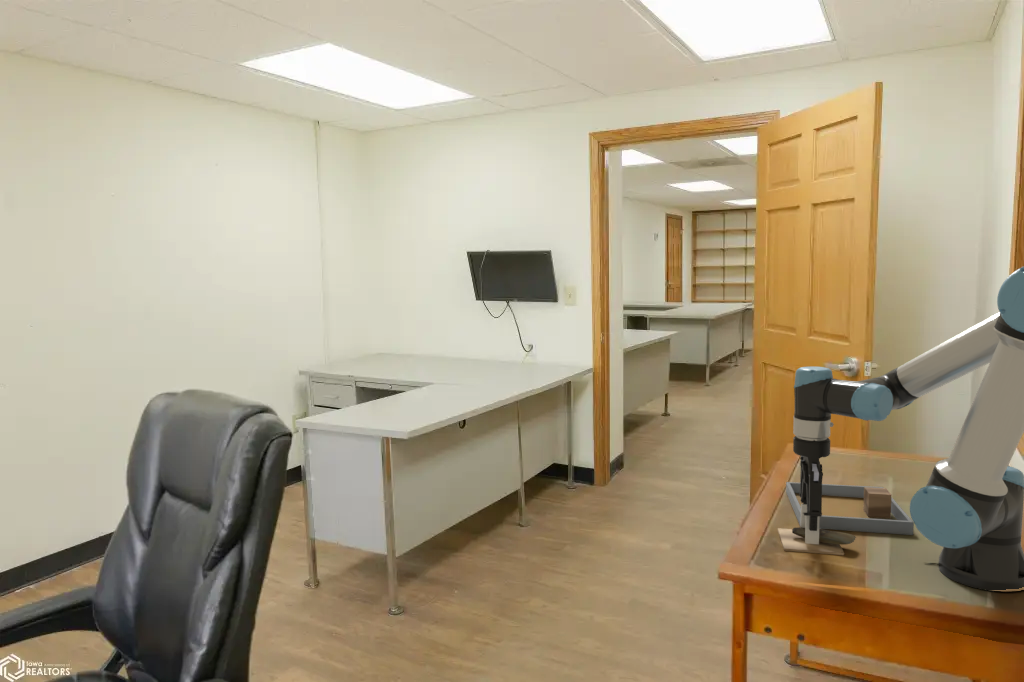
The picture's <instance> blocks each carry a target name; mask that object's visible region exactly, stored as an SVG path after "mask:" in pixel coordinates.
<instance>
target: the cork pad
mask: <svg viewBox="0 0 1024 682" xmlns="http://www.w3.org/2000/svg"><path fill="white" fill-rule="evenodd" d="M792 529H793V528H779V527H778V528H777V533H778V536H779V538H780V541H781V545H782V548H783V551H786V552H798V553H808V554H809V553H811V554H823V555H837V556H845V552H844V550H843V548H842V547H841V545H836V544H828V543H823V542H819V544H806V543H805V538H804V537H801V536H798V535H796V534H794V533H792Z"/></svg>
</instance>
